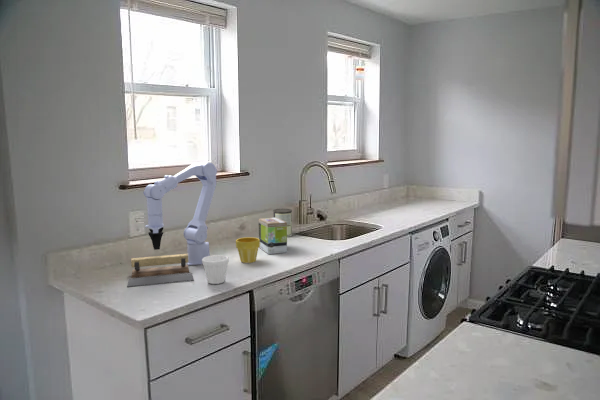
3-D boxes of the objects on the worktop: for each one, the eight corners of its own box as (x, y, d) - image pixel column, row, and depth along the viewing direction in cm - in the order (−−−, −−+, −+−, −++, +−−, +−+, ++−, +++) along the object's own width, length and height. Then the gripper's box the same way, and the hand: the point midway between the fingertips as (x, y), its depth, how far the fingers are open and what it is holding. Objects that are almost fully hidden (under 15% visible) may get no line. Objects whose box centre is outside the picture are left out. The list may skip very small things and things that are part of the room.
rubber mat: (192, 274, 186) (192, 273, 186) (193, 280, 177) (193, 279, 177) (128, 279, 179) (128, 278, 179) (127, 287, 170) (127, 286, 170)
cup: (197, 282, 175) (196, 258, 174) (219, 276, 182) (218, 253, 181) (212, 288, 168) (211, 263, 167) (234, 282, 175) (234, 258, 174)
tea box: (287, 252, 218) (287, 221, 216) (267, 254, 215) (267, 223, 212) (277, 245, 232) (277, 216, 230) (258, 247, 228) (257, 218, 226)
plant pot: (246, 256, 211) (245, 236, 209) (264, 259, 206) (264, 238, 204) (231, 262, 202) (230, 240, 201) (250, 265, 197) (250, 243, 195)
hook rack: (187, 267, 195) (187, 253, 195) (189, 272, 188) (188, 258, 187) (132, 272, 189) (131, 257, 188) (131, 277, 181) (130, 263, 181)
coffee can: (269, 235, 256) (269, 209, 254) (284, 232, 263) (284, 207, 261) (281, 238, 248) (280, 212, 246) (296, 235, 255) (295, 210, 253)
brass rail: (187, 260, 193) (187, 253, 192) (188, 262, 190) (188, 255, 190) (132, 265, 186) (131, 258, 186) (131, 267, 184) (131, 260, 183)
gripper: (145, 211, 192) (147, 243, 194) (143, 217, 178) (146, 252, 180) (163, 210, 193) (164, 242, 195) (163, 216, 180) (164, 250, 182)
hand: (157, 247), depth 188 cm, fingers open, 7 cm apart
